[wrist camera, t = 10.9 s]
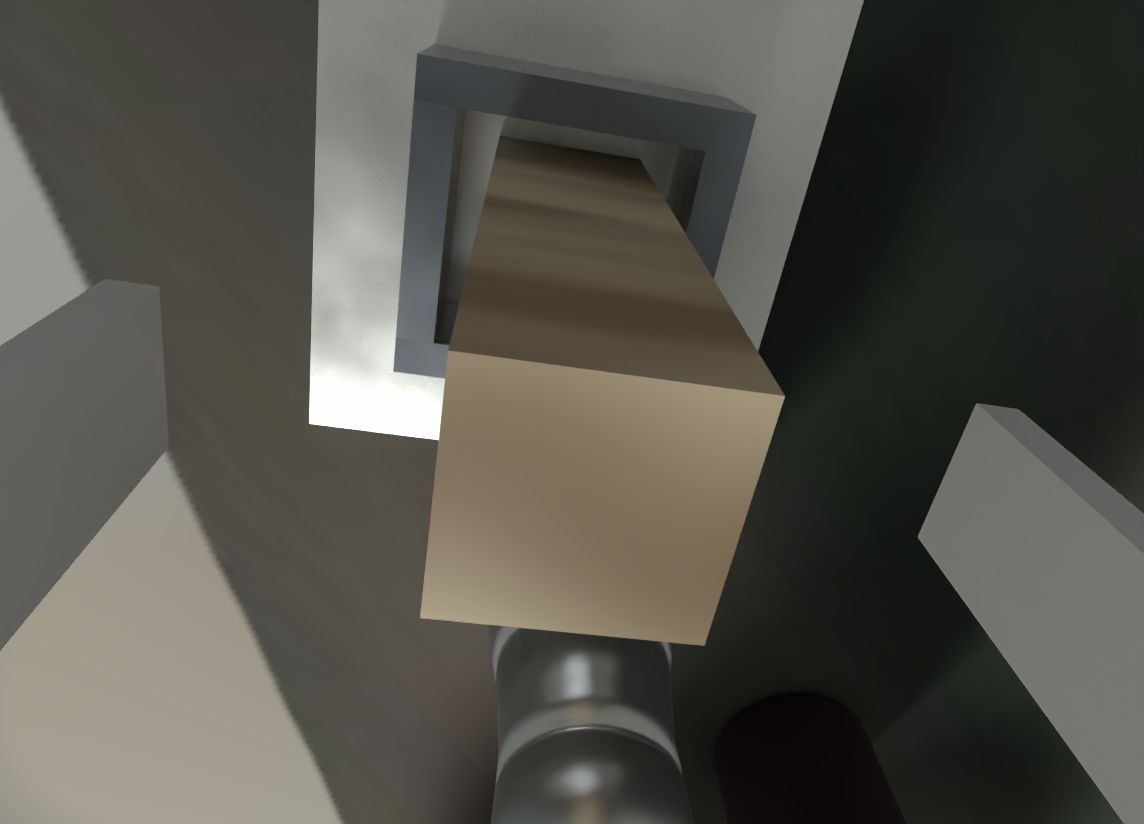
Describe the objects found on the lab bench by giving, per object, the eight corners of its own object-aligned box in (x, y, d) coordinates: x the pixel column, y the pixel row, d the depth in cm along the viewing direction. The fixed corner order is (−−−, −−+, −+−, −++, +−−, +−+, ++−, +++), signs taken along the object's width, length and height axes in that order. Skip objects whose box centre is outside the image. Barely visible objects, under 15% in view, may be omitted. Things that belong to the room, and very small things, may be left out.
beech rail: (613, 291, 25) (704, 645, 11) (483, 272, 24) (420, 618, 11) (639, 158, 23) (785, 396, 10) (499, 135, 22) (448, 350, 9)
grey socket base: (714, 460, 29) (743, 536, 25) (316, 409, 27) (279, 481, 23) (863, -45, 22) (938, -52, 18) (331, -156, 20) (281, -191, 16)
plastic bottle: (598, 665, 33) (669, 1432, 16) (457, 595, 31) (357, 1387, 14) (696, 561, 31) (910, 1326, 13) (551, 479, 29) (577, 1252, 11)
